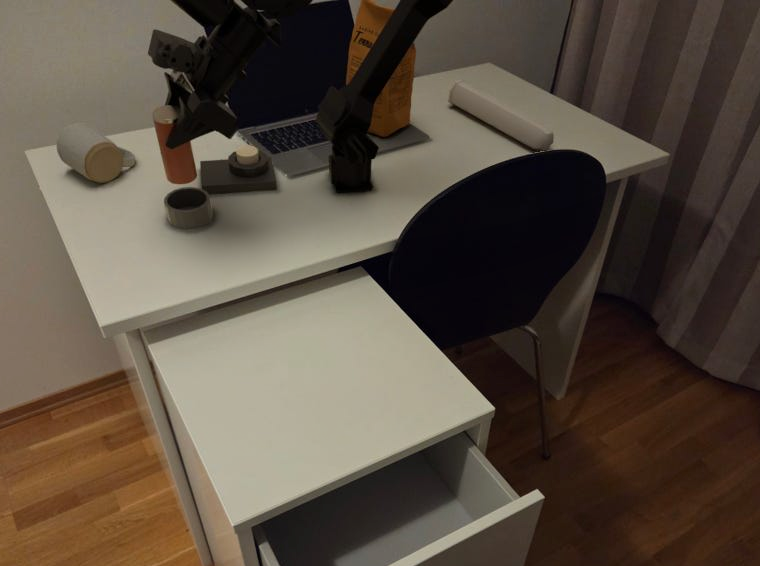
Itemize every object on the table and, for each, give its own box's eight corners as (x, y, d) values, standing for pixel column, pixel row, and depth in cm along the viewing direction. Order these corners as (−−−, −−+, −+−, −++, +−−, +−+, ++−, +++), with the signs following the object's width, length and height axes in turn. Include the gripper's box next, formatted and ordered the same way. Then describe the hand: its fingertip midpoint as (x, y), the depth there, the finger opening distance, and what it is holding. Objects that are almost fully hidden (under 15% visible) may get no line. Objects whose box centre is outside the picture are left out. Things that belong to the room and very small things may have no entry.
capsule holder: (212, 204, 103) (209, 185, 101) (213, 229, 99) (210, 209, 96) (168, 207, 102) (164, 188, 100) (168, 232, 98) (163, 213, 95)
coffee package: (374, 104, 131) (378, -15, 115) (417, 127, 126) (427, 6, 110) (337, 117, 126) (336, -4, 110) (380, 142, 121) (385, 18, 105)
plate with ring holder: (271, 165, 113) (270, 147, 110) (276, 191, 107) (274, 172, 105) (201, 170, 110) (198, 151, 108) (203, 196, 105) (199, 177, 102)
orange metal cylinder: (196, 168, 97) (184, 104, 90) (197, 183, 94) (184, 118, 87) (166, 169, 96) (152, 105, 89) (166, 185, 93) (151, 120, 86)
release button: (258, 154, 109) (257, 144, 108) (259, 165, 107) (258, 155, 105) (236, 155, 108) (235, 146, 107) (238, 166, 106) (236, 157, 105)
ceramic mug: (93, 192, 104) (79, 148, 98) (63, 173, 107) (49, 130, 101) (147, 168, 110) (138, 126, 104) (118, 151, 113) (107, 109, 107)
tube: (563, 130, 120) (469, 80, 132) (548, 128, 117) (453, 78, 129) (551, 156, 123) (460, 106, 135) (536, 156, 120) (444, 104, 131)
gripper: (161, -17, 85) (98, 78, 89) (199, 35, 74) (125, 139, 79) (226, 38, 94) (166, 122, 98) (269, 91, 83) (199, 183, 87)
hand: (163, 139), depth 90 cm, fingers closed on orange metal cylinder, 4 cm apart
